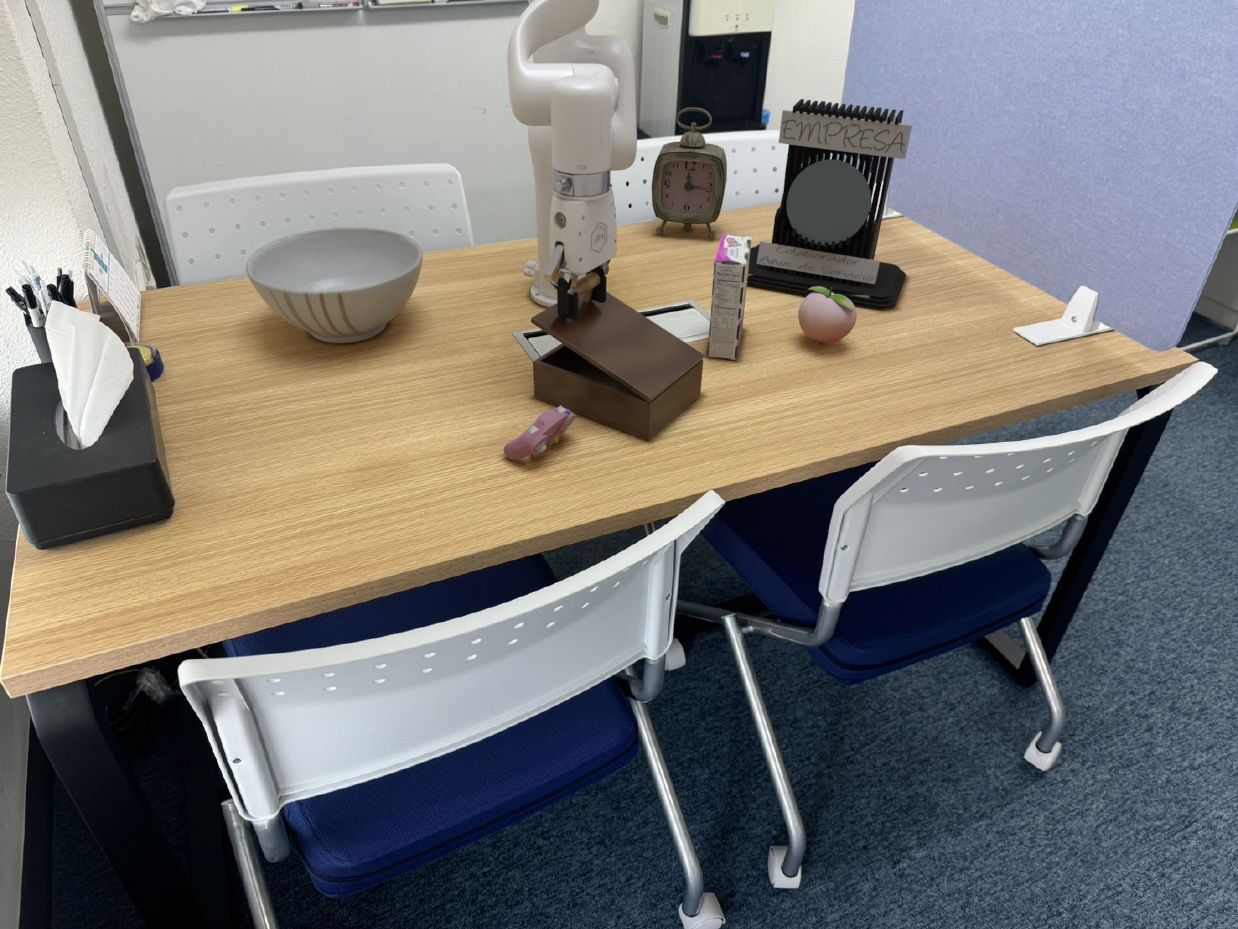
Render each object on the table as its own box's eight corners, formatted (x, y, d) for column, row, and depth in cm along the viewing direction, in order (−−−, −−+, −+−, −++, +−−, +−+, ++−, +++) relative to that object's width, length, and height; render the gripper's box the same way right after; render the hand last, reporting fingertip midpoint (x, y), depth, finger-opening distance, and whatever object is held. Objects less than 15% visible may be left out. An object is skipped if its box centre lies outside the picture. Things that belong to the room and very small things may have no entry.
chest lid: (530, 322, 119) (538, 288, 115) (590, 286, 129) (600, 254, 125) (649, 402, 114) (662, 370, 110) (703, 359, 124) (716, 328, 120)
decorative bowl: (303, 383, 128) (286, 308, 121) (238, 319, 144) (220, 250, 137) (460, 333, 142) (453, 263, 135) (384, 280, 159) (375, 215, 152)
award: (726, 282, 161) (742, 113, 143) (752, 248, 175) (770, 90, 157) (892, 312, 151) (932, 136, 134) (907, 273, 166) (944, 109, 148)
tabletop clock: (649, 237, 179) (654, 110, 164) (655, 222, 186) (660, 99, 171) (719, 243, 177) (731, 115, 162) (722, 227, 184) (733, 103, 170)
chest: (534, 398, 126) (532, 361, 122) (591, 358, 136) (591, 324, 132) (648, 441, 117) (650, 403, 114) (700, 395, 127) (703, 359, 124)
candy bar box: (713, 327, 146) (721, 232, 136) (742, 330, 145) (753, 235, 135) (705, 358, 137) (713, 259, 127) (736, 361, 136) (747, 262, 126)
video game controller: (523, 477, 112) (541, 445, 107) (498, 454, 113) (514, 421, 108) (568, 442, 119) (586, 411, 114) (543, 420, 120) (561, 388, 115)
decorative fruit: (782, 343, 141) (790, 286, 136) (810, 327, 146) (819, 271, 140) (832, 362, 136) (843, 304, 130) (858, 345, 141) (870, 288, 135)
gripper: (565, 204, 104) (567, 338, 114) (641, 169, 116) (637, 294, 126) (516, 192, 107) (523, 324, 118) (595, 160, 119) (595, 282, 130)
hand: (582, 307), depth 122 cm, fingers closed on chest lid, 6 cm apart
